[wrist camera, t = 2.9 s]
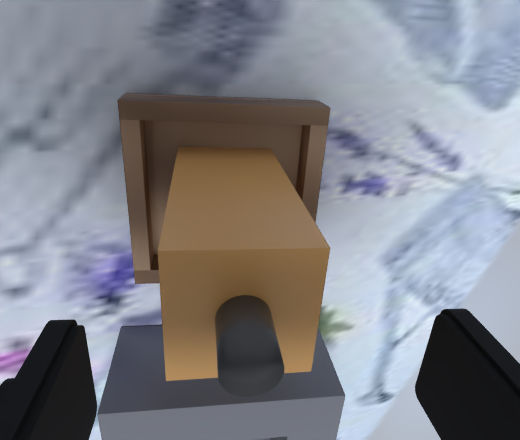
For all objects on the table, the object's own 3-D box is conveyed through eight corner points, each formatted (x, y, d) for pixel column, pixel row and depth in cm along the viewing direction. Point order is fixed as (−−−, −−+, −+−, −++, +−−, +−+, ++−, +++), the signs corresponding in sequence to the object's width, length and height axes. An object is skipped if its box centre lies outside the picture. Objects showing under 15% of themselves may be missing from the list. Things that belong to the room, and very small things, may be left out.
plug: (178, 146, 19) (148, 299, 8) (270, 148, 19) (356, 292, 9) (181, 230, 21) (159, 443, 10) (264, 228, 21) (329, 428, 11)
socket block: (121, 327, 23) (97, 414, 18) (314, 318, 25) (345, 395, 20) (136, 455, 29) (121, 553, 23) (296, 440, 30) (317, 528, 25)
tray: (126, 93, 18) (117, 99, 16) (318, 100, 19) (330, 107, 17) (140, 263, 22) (135, 283, 20) (299, 259, 23) (307, 278, 21)
